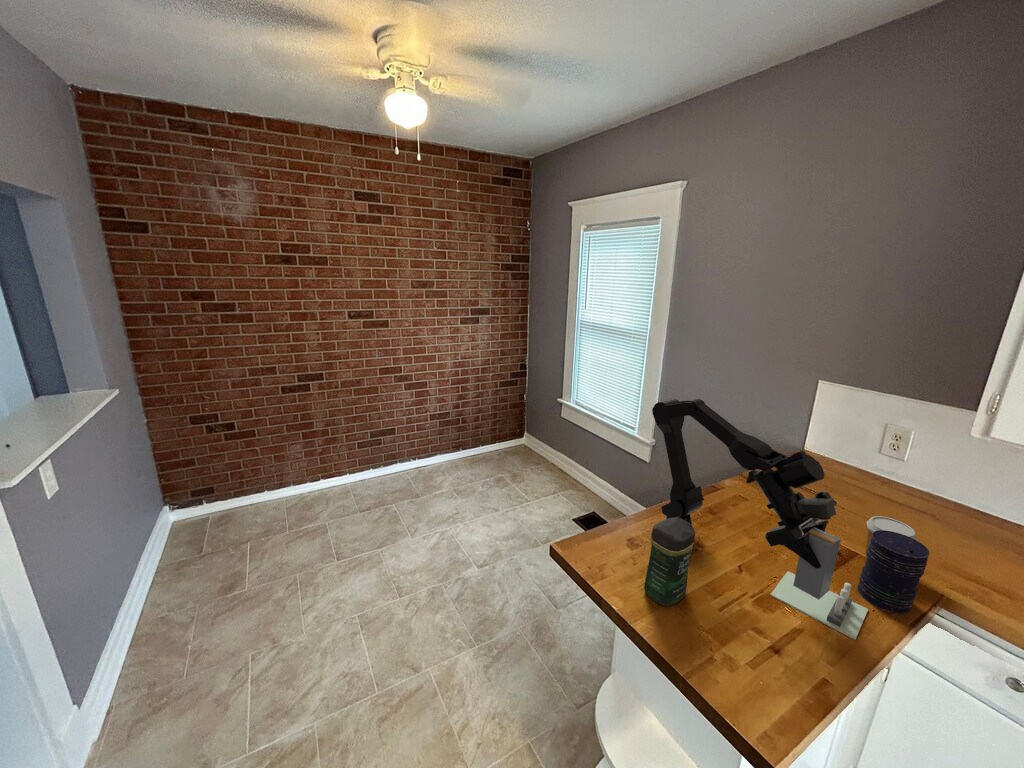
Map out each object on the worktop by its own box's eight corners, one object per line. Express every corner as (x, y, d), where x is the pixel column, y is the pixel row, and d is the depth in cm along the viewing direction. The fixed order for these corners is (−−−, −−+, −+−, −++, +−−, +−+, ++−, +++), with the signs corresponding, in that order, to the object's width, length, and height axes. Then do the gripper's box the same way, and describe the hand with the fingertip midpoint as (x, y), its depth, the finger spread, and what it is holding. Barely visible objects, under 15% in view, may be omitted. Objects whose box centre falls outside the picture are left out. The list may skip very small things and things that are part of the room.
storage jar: (846, 581, 103) (860, 529, 99) (887, 583, 103) (903, 530, 99) (879, 614, 93) (896, 557, 89) (924, 615, 93) (943, 558, 89)
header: (770, 595, 98) (775, 574, 97) (787, 572, 106) (792, 552, 104) (855, 640, 87) (862, 616, 85) (867, 610, 94) (874, 588, 93)
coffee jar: (667, 613, 93) (677, 541, 88) (638, 591, 99) (645, 523, 94) (692, 594, 99) (702, 525, 94) (663, 574, 105) (671, 509, 100)
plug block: (793, 585, 93) (803, 533, 90) (803, 577, 96) (814, 526, 93) (818, 599, 89) (830, 545, 86) (829, 590, 92) (841, 537, 89)
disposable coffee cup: (864, 573, 106) (876, 532, 103) (851, 550, 115) (861, 511, 111) (912, 583, 103) (926, 541, 100) (894, 559, 111) (906, 519, 108)
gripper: (791, 495, 84) (843, 573, 79) (832, 472, 94) (880, 540, 88) (746, 510, 93) (790, 582, 87) (787, 487, 103) (829, 551, 97)
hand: (824, 563), depth 90 cm, fingers closed on plug block, 5 cm apart
